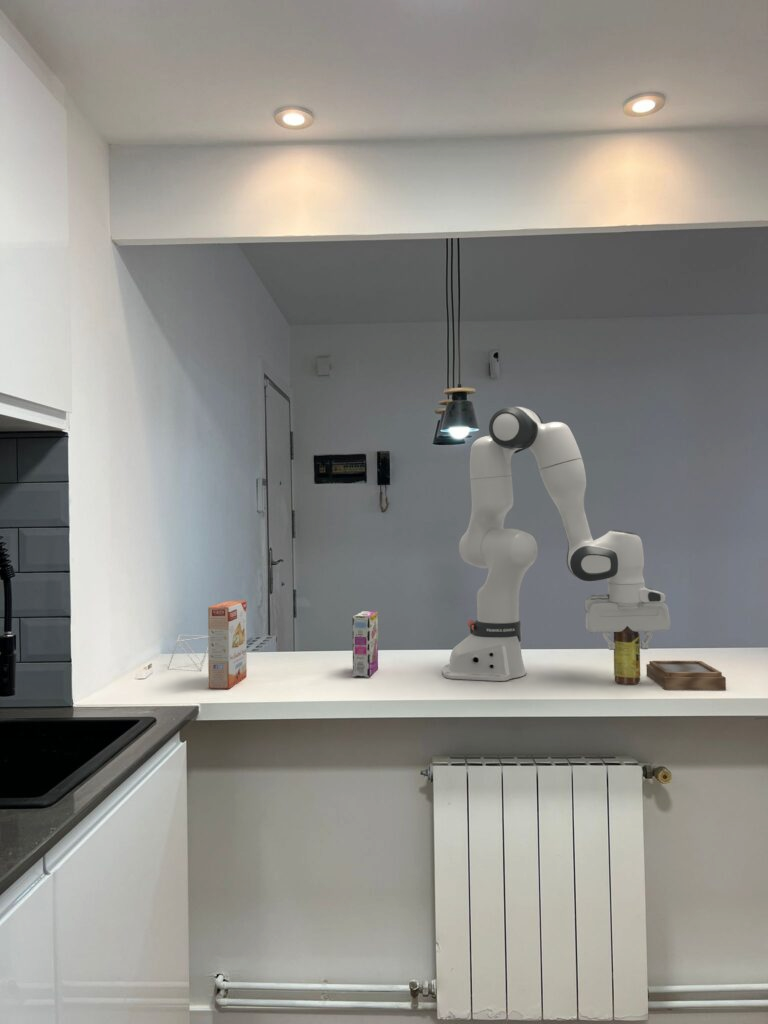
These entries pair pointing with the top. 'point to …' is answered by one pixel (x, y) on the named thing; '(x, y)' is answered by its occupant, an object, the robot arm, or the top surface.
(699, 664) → the tray
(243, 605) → the cracker box
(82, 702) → the top surface
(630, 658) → the sauce bottle
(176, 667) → the geometric polyhedron
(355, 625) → the candy bar box
